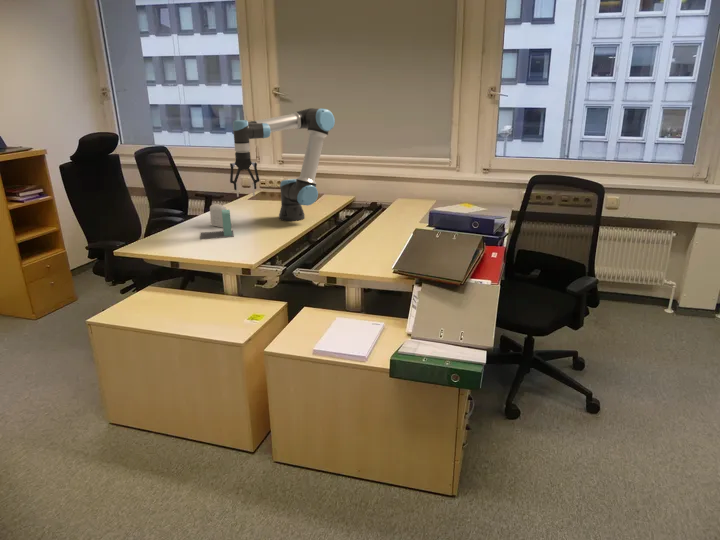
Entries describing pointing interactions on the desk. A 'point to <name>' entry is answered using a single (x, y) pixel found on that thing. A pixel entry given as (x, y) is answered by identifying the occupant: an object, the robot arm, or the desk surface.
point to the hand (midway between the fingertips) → (245, 195)
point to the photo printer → (216, 215)
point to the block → (226, 222)
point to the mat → (214, 235)
